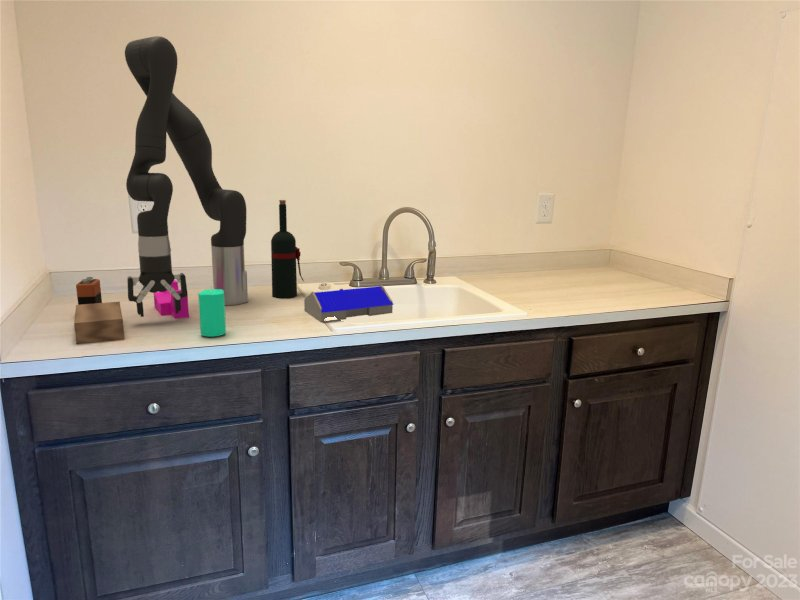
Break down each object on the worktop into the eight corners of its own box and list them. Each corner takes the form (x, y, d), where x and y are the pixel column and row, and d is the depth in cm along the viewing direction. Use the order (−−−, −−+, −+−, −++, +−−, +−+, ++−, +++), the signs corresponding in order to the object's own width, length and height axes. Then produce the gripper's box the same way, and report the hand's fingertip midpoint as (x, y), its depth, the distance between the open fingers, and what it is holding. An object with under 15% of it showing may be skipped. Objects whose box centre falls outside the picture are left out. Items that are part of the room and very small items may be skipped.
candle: (216, 328, 148) (214, 282, 145) (230, 332, 145) (228, 285, 142) (195, 332, 144) (193, 285, 141) (209, 338, 140) (207, 289, 137)
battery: (78, 317, 154) (74, 281, 152) (86, 311, 160) (82, 275, 158) (96, 317, 155) (93, 280, 153) (103, 310, 161) (99, 275, 159)
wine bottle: (307, 297, 182) (306, 201, 175) (275, 300, 178) (272, 201, 171) (300, 292, 189) (299, 199, 182) (269, 294, 185) (266, 199, 178)
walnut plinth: (121, 319, 153) (119, 301, 152) (124, 339, 138) (122, 318, 136) (78, 323, 149) (76, 304, 147) (76, 344, 133) (74, 323, 132)
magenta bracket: (154, 307, 167) (152, 282, 165) (177, 305, 170) (175, 280, 168) (164, 320, 155) (162, 293, 153) (189, 317, 158) (187, 290, 156)
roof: (371, 304, 178) (371, 280, 176) (393, 315, 166) (394, 290, 165) (303, 311, 167) (303, 286, 166) (322, 323, 156) (322, 297, 154)
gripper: (182, 249, 154) (186, 308, 158) (123, 252, 148) (128, 313, 152) (186, 253, 148) (190, 315, 151) (124, 256, 141) (130, 321, 145)
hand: (159, 314), depth 151 cm, fingers open, 8 cm apart
